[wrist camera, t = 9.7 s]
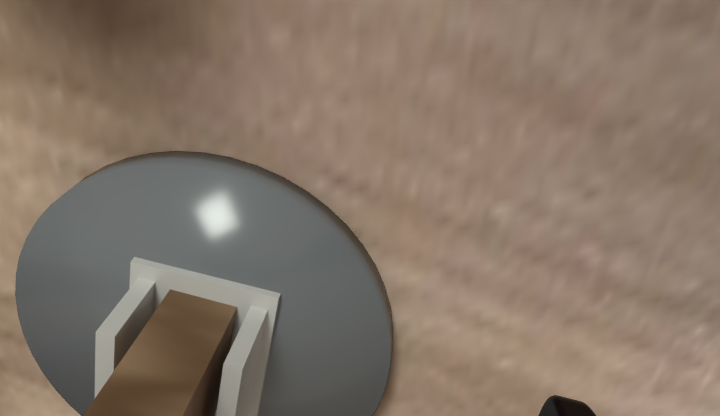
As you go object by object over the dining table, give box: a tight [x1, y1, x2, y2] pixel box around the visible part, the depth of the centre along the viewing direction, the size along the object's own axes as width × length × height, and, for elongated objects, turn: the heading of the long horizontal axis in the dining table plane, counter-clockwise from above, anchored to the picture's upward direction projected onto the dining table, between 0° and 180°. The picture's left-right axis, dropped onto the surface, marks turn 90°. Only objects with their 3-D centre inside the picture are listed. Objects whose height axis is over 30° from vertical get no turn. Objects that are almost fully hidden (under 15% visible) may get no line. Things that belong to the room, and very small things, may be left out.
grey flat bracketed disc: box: [15, 151, 393, 416], centre depth 22 cm, size 14×14×4 cm
